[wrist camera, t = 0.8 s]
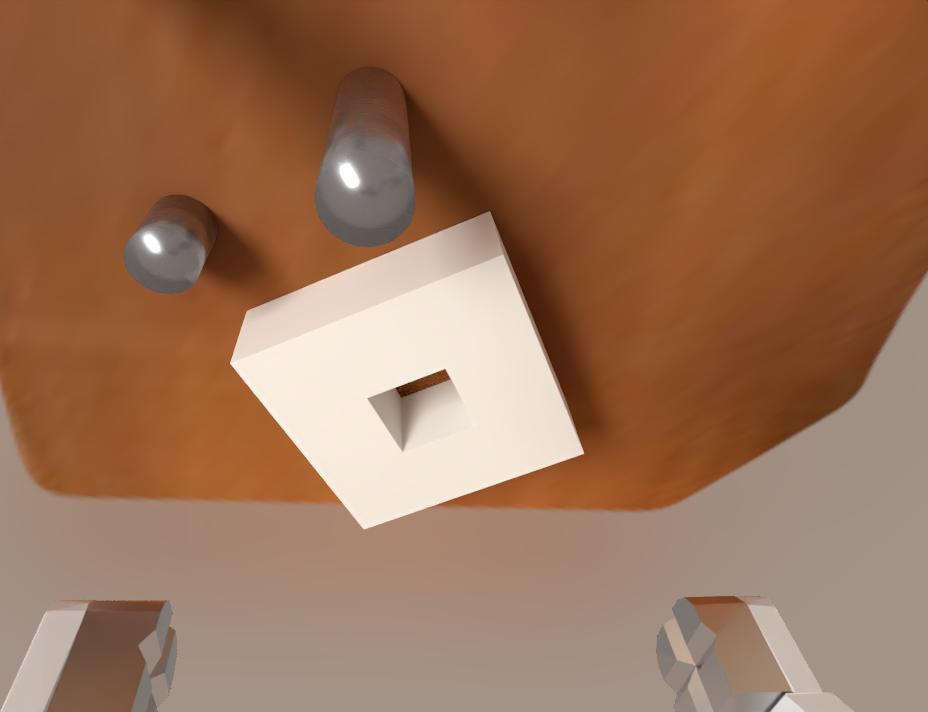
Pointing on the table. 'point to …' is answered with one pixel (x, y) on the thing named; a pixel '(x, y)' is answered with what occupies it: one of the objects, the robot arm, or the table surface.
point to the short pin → (171, 244)
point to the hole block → (411, 375)
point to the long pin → (367, 161)
